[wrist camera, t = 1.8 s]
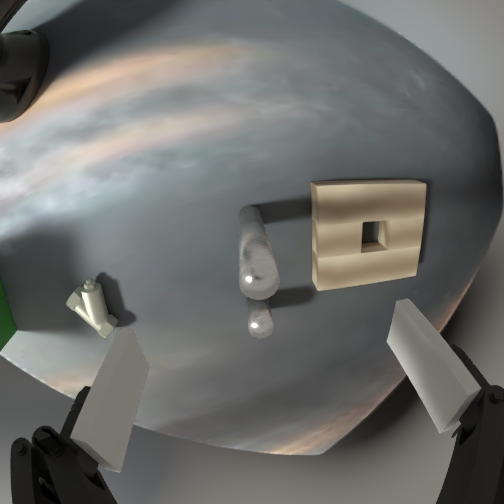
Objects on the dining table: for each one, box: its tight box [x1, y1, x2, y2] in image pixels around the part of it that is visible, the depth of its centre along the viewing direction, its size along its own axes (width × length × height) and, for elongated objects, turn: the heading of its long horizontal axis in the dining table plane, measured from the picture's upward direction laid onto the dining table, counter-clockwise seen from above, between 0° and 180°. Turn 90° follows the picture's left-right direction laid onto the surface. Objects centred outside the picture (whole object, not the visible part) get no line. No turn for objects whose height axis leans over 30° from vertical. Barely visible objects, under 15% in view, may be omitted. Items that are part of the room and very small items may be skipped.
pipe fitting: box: [66, 278, 118, 338], centre depth 34 cm, size 8×4×7 cm
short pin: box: [247, 297, 274, 338], centre depth 34 cm, size 3×3×6 cm
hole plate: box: [311, 180, 426, 291], centre depth 32 cm, size 13×15×3 cm
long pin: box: [239, 205, 280, 300], centre depth 25 cm, size 3×3×16 cm
